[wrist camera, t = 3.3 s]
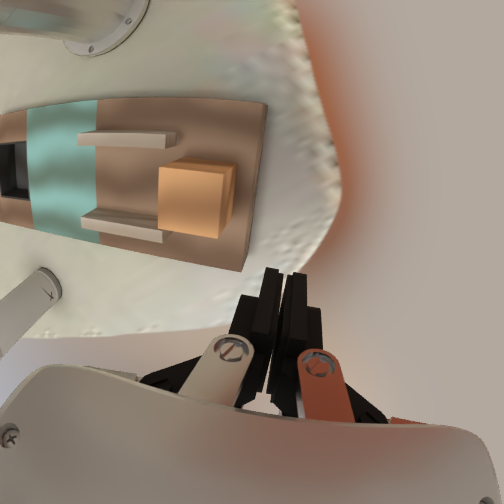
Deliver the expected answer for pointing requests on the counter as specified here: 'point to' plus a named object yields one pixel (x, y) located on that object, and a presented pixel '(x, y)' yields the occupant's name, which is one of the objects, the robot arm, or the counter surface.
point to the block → (196, 196)
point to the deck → (127, 170)
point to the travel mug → (26, 306)
